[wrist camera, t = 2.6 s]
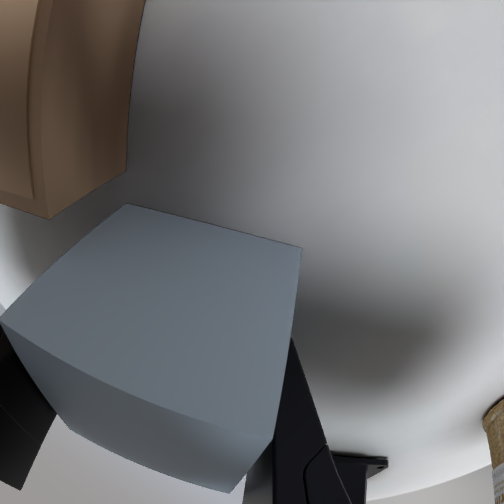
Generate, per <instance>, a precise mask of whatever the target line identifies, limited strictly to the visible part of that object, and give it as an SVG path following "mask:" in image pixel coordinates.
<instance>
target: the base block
mask: <svg viewBox="0 0 504 504" xmlns="http://www.w3.org/2000/svg"><path fill="white" fill-rule="evenodd" d="M144 3H145V0H0V203H1V204H4V205H7V206H10V207H12V208H15V209H18V210H21V211H24V212H27V213H30V214H33V215H36V216H39V217H42V218H45V219H48V220H50V219H51V218H52V217H54V216H55V215H57V214H58V213H60V212H61V211H63V210H64V209H65V208H67V207H68V206H70V205H71V204H73V203H74V202H76V201H77V200H79V199H80V198H82V197H84V196H85V195H87V194H88V193H90V192H91V191H93V190H95V189H96V188H98V187H99V186H101V185H103V184H104V183H106V182H108V181H109V180H111V179H113V178H114V177H116V176H118V175H119V174H121V173H123V172H125V171H126V150H127V129H128V115H129V102H130V92H131V83H132V74H133V66H134V59H135V52H136V45H137V39H138V33H139V28H140V22H141V17H142V12H143V7H144Z"/></svg>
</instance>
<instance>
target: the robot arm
mask: <svg viewBox="0 0 504 504" xmlns="http://www.w3.org/2000/svg"><path fill="white" fill-rule="evenodd" d="M56 415H57V413H56V411H55V410H54V409H53V407H52V406H51V405H50V403H49V402H48V401H47V399H46V398H45V397H44V395H43V394H42V392H41V391H40V389H39V388H38V387H37V385H36V384H35V382H34V381H33V379H32V378H31V376H30V375H29V373H28V371H27V370H26V368H25V367H24V365H23V363H22V362H21V360H20V358H19V357H18V355H17V353H16V352H15V350H14V348H13V346H12V345H11V343H10V341H9V339H8V337H7V335H6V334H5V332H4V330H3V328H2V326H1V324H0V480H1V481H3V482H4V483H6V484H8V485H10V486H12V487H14V488H16V489H18V490H21V489H22V487H23V485H24V482H25V480H26V478H27V476H28V473H29V471H30V469H31V467H32V464H33V462H34V460H35V458H36V456H37V453H38V451H39V449H40V447H41V445H42V443H43V441H44V438H45V436H46V434H47V432H48V430H49V428H50V426H51V425H52V422H53V420H54V419H55V417H56ZM326 443H327V441H326V438H325V435H324V432H323V429H322V426H321V423H320V420H319V417H318V414H317V411H316V408H315V405H314V402H313V399H312V396H311V393H310V390H309V387H308V384H307V381H306V378H305V375H304V372H303V369H302V366H301V363H300V360H299V357H298V354H297V351H296V348H295V345H294V342H293V339H292V338H291V337H290V343H289V349H288V356H287V362H286V368H285V374H284V380H283V386H282V391H281V397H280V403H279V408H278V413H277V419H276V424H275V429H274V434H273V439H272V440H271V442H270V443H269V444H268V446H267V447H266V448H265V450H264V451H263V452H262V454H261V455H260V456H259V458H258V459H257V460H256V462H255V463H254V464H253V465H252V467H251V468H250V469H249V470H248V472H247V476H246V483H245V490H244V496H243V503H242V504H366V490H367V479H368V478H370V477H372V476H373V475H375V474H377V473H379V472H381V471H382V470H384V469H386V468H388V460H383V459H363V458H350V457H339V456H331V453H330V450H329V447H328V445H326Z"/></svg>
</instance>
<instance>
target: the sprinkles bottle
mask: <svg viewBox="0 0 504 504" xmlns="http://www.w3.org/2000/svg"><path fill="white" fill-rule="evenodd" d="M483 428H484V430H485V432H486V433H487V438H488V444H489V449H490V455H491V461H492V467H493V471H492V477H493V485H494V495H495V504H504V399H503V400H502V401H500V402H499V403H498V404H497V405H496V406H494V407H493V408H492V409H491V410H490V411H489V413H488V414H487V416H486V417H485V418H484V422H483Z"/></svg>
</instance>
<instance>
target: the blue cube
mask: <svg viewBox="0 0 504 504" xmlns="http://www.w3.org/2000/svg"><path fill="white" fill-rule="evenodd" d="M301 255H302V248H299V247H295V246H291V245H288V244H284V243H280V242H276V241H272V240H269V239H265V238H261V237H257V236H254V235H250V234H246V233H242V232H238V231H234V230H231V229H227V228H223V227H219V226H215V225H211V224H207V223H203V222H199V221H195V220H192V219H188V218H184V217H180V216H176V215H172V214H168V213H164V212H160V211H156V210H152V209H148V208H143V207H139V206H135V205H131V204H127V203H126V204H125V205H123V206H122V207H121V208H120V209H118V210H117V211H116V212H114V213H113V214H112V215H111V216H109V217H108V218H107V219H105V220H104V221H103V222H102V223H100V224H99V225H98V226H97V227H96V228H94V229H93V230H92V231H91V232H89V233H88V234H87V235H86V236H85V237H83V238H82V239H81V240H80V241H79V242H78V243H76V244H75V245H74V246H73V247H72V248H71V249H69V250H68V251H67V252H66V253H65V254H64V255H63V256H62V257H60V258H59V259H58V260H57V261H56V262H55V263H54V264H53V265H52V266H51V267H49V268H48V269H47V270H46V271H45V272H44V273H43V274H42V275H41V276H40V277H39V278H38V279H37V280H36V281H35V282H34V283H33V284H32V285H30V286H29V287H28V288H27V289H26V290H25V291H24V292H23V293H22V294H21V295H20V296H19V297H18V298H17V300H16V301H15V302H14V303H13V304H12V305H11V306H10V307H9V308H8V309H7V310H6V311H5V312H4V313H3V314H2V315H1V316H0V324H1V326H2V328H3V330H4V332H5V334H6V335H7V337H8V339H9V341H10V343H11V345H12V346H13V348H14V350H15V352H16V353H17V355H18V357H19V358H20V360H21V362H22V363H23V365H24V367H25V368H26V370H27V371H28V373H29V375H30V376H31V378H32V379H33V381H34V382H35V384H36V385H37V387H38V388H39V389H40V391H41V392H42V394H43V395H44V397H45V398H46V399H47V401H48V402H49V403H50V405H51V406H52V407H53V409H54V410H55V411H56V413H57V414H58V415H59V416H60V418H61V419H62V420H63V421H64V423H65V424H66V425H67V426H68V428H69V429H70V430H72V431H74V432H75V433H77V434H79V435H81V436H83V437H84V438H86V439H88V440H90V441H92V442H93V443H96V444H97V445H99V446H101V447H103V448H105V449H107V450H109V451H111V452H113V453H116V454H118V455H120V456H122V457H124V458H126V459H129V460H131V461H133V462H136V463H138V464H140V465H142V466H145V467H148V468H150V469H152V470H155V471H158V472H160V473H163V474H166V475H168V476H171V477H174V478H177V479H180V480H183V481H186V482H189V483H192V484H196V485H199V486H202V487H206V488H209V489H213V490H217V491H221V492H225V493H230V492H231V491H232V490H233V489H234V488H235V486H236V485H237V484H238V483H239V481H240V480H241V479H242V478H243V477H244V475H245V474H246V473H247V472H248V470H249V469H250V468H251V467H252V465H253V464H254V463H255V462H256V460H257V459H258V458H259V456H260V455H261V454H262V452H263V451H264V450H265V448H266V447H267V446H268V444H269V443H270V442H271V440H272V439H273V434H274V429H275V424H276V419H277V413H278V408H279V403H280V397H281V391H282V386H283V380H284V374H285V368H286V362H287V356H288V349H289V343H290V337H291V330H292V323H293V316H294V309H295V302H296V295H297V287H298V279H299V272H300V264H301Z"/></svg>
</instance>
